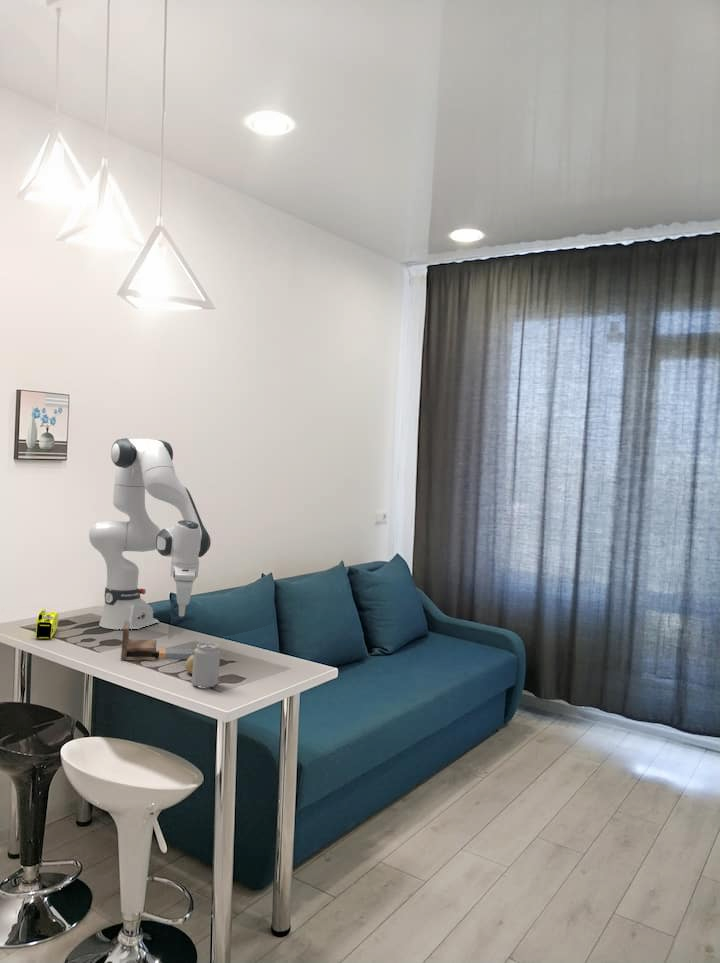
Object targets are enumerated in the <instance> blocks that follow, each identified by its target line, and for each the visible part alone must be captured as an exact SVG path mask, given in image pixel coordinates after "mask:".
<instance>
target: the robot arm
mask: <svg viewBox="0 0 720 963" xmlns="http://www.w3.org/2000/svg"><path fill="white" fill-rule="evenodd" d="M110 456H111V460H112V462H113V464H114V465H115V466H117V468H116V472H115V475H114V476H115V478H114V485H113V486H114V487H113V488H114V490H113V496H112V497H113V500H112V503H113V506H114V507H115V509H117V510H118V511H120V512H121V513H123V514H125V515H126V516H128V517H129V521H120V520H119V521H118V520H117V521H116V520H115V521H114V520H106V521H105V520H104V521H98V522H96V523H94V524H93V525H92V527H90V530H89V534H88V539H89V542H90V545H92V547H93V548H94V549H95V550H97V551H98V552H99V553H100V555H101V556H102V557H103V559H104V561H105V565H106V586H105V588H104V605H103V608H102V609H103V610H102V614H101V618H100V621H99V624H98V626H99V627H101V628H104V629H110V630H119V629H120V630H122V629H123V628H124V624H125V621H130V627H129V629H131V630H130V631H133V630H132V629H138V630H140V629H139V628H142V627H145V626H148V627H150V626H149V625H151V624H154V623H158V624H160V620H158V619H157V618H154V610H153V608H152V606H151V605H149V603H147V602H146V601H145V600H144V599H143V598H142V597H141V594H142V595H145V594H146V593H147V590H146V589H145V588H142V587H141V588H138V586H139V572H140V570H139V567H138V565H137V564H136V563H135V562H133V561H131V560H129V559H127V558H125V557H124V556H123V552H139V553H140V552H142V553H146V552H150V551H157V552H158V553H159V555H160V556H162V557H167V558H168V557H169V558H170V557H172V558H171V564H170V565H171V566H170V576H171V577H172V578H173V582H175V587H176V591H175V592H176V603H177V605H178V608H177V609H178V616H179V617H184V616H185V614H186V607H187V606H188V605H189V604H190V601H191V595H192V590H193V585H194V582H195V581H196V578H198V577H199V566H200V559H199V558H201V557H203V556H205V555H206V553H208V551H209V550H210V547H211V542H212V541H211V536H210V535H209V533H208V531H207V529H206V527H205V526H204V524H203V521H202V520H201V517H200V514H199V512H198V509H197V507H196V504H195V501H194V500H193V498H192V497H193V496H192V495H191V493H190V491H189V489H188V488H187V487H185V485H183V483H181V481H180V480H179V478H178V476H177V474H176V471H175V466H174V464H173V459H174V458H173V457H174V451H173V447H172V446H171V444H170V443H169V442H168V441H164V440H161V439H160V440H156V439H152V438H151V439H150V438H119V439H116V440H115V441H114V443H112V446H111V450H110ZM146 492H147V494H149V495H150V496H152V498H154V499H156V500H159V501H163V502H166V503H168V504H170V505H171V506H173V507H175V508H177V510H178V511H179V512H180V514H181V517H182V520H178V521H177V522H176V523H175V524H174V525H173V526H170V527H167V528H163V529H160V527H159V526H158V525H157V524H155V523H154V522H153V520H152V519H151V518H150V517H149V515H148V512H147V509H146ZM145 628H146V627H145ZM142 629H143V628H142ZM122 631H123V630H122Z"/></svg>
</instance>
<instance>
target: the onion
mask: <svg viewBox="0 0 720 963" xmlns="http://www.w3.org/2000/svg"><path fill="white" fill-rule="evenodd" d="M193 660H194V651H193V653H192V655H191V656H190V657H189V658H188V659H186V662H185V670H186V671H187V673H188V674H191V675H192V672H193Z"/></svg>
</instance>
